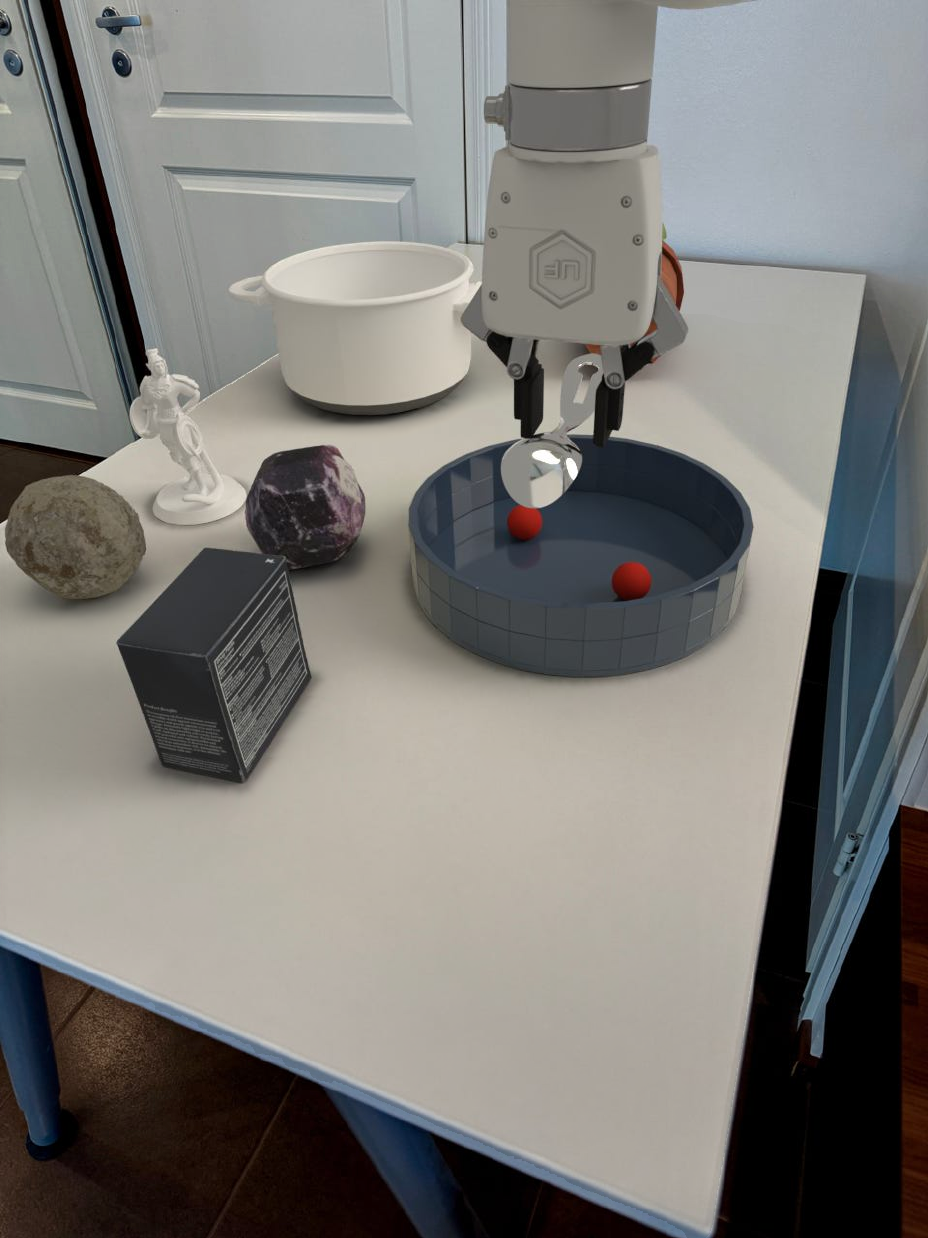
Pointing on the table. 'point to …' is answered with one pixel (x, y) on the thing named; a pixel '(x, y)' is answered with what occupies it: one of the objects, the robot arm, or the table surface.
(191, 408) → the figurine
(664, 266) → the potted plant
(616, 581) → the tomato
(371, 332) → the pot
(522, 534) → the tomato
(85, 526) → the decorative stone
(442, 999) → the table surface
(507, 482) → the metal spoon
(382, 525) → the table surface
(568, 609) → the bowl
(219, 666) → the small box
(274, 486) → the mineral specimen
